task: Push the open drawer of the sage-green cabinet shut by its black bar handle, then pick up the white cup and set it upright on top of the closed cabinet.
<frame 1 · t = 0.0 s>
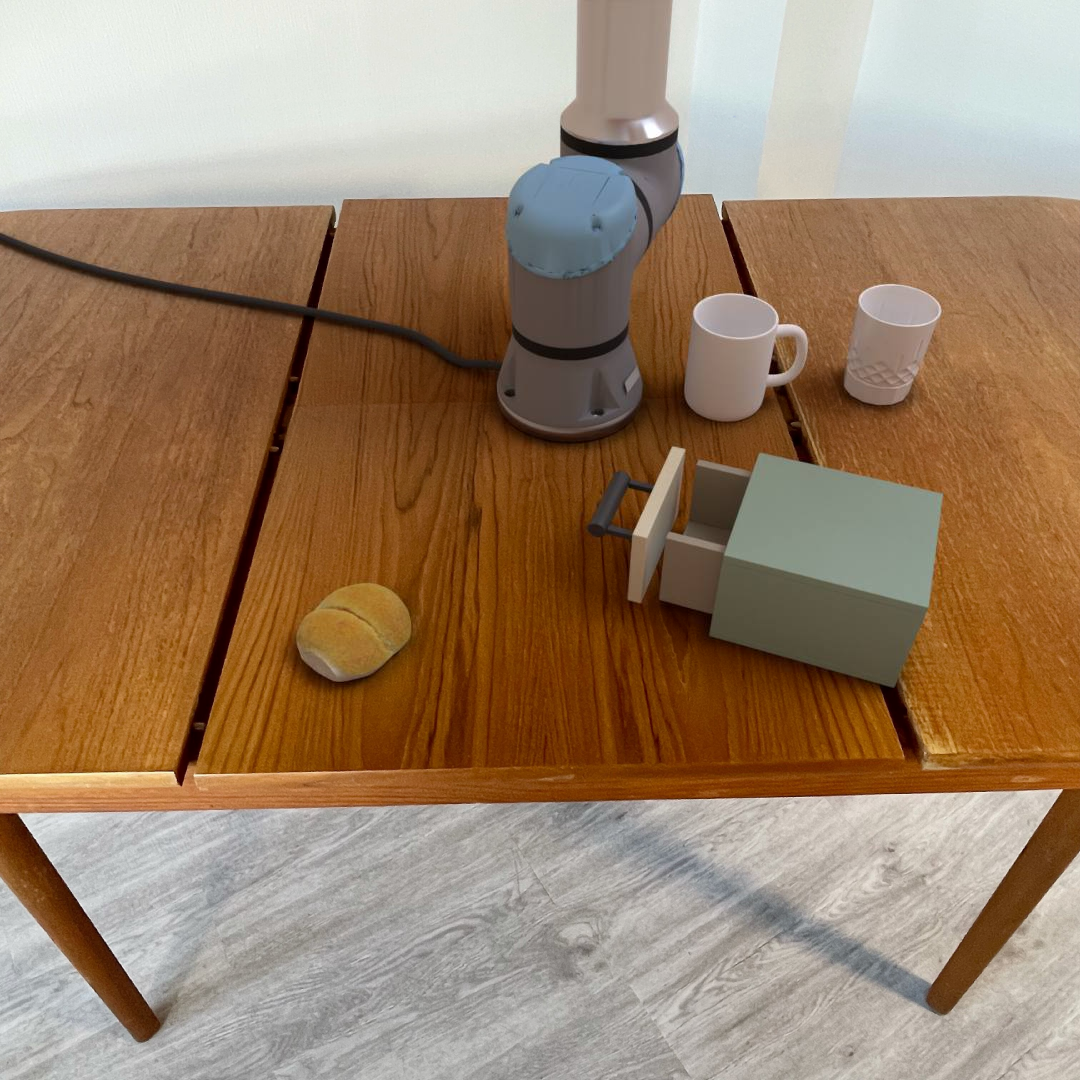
cup: (739, 400, 98), on the table
cabinet: (812, 605, 77), on the table
drawer: (702, 535, 77), point 5 cm above the table, slide at 6.0 cm
white cup: (874, 388, 99), on the table
bread roll: (356, 643, 76), on the table
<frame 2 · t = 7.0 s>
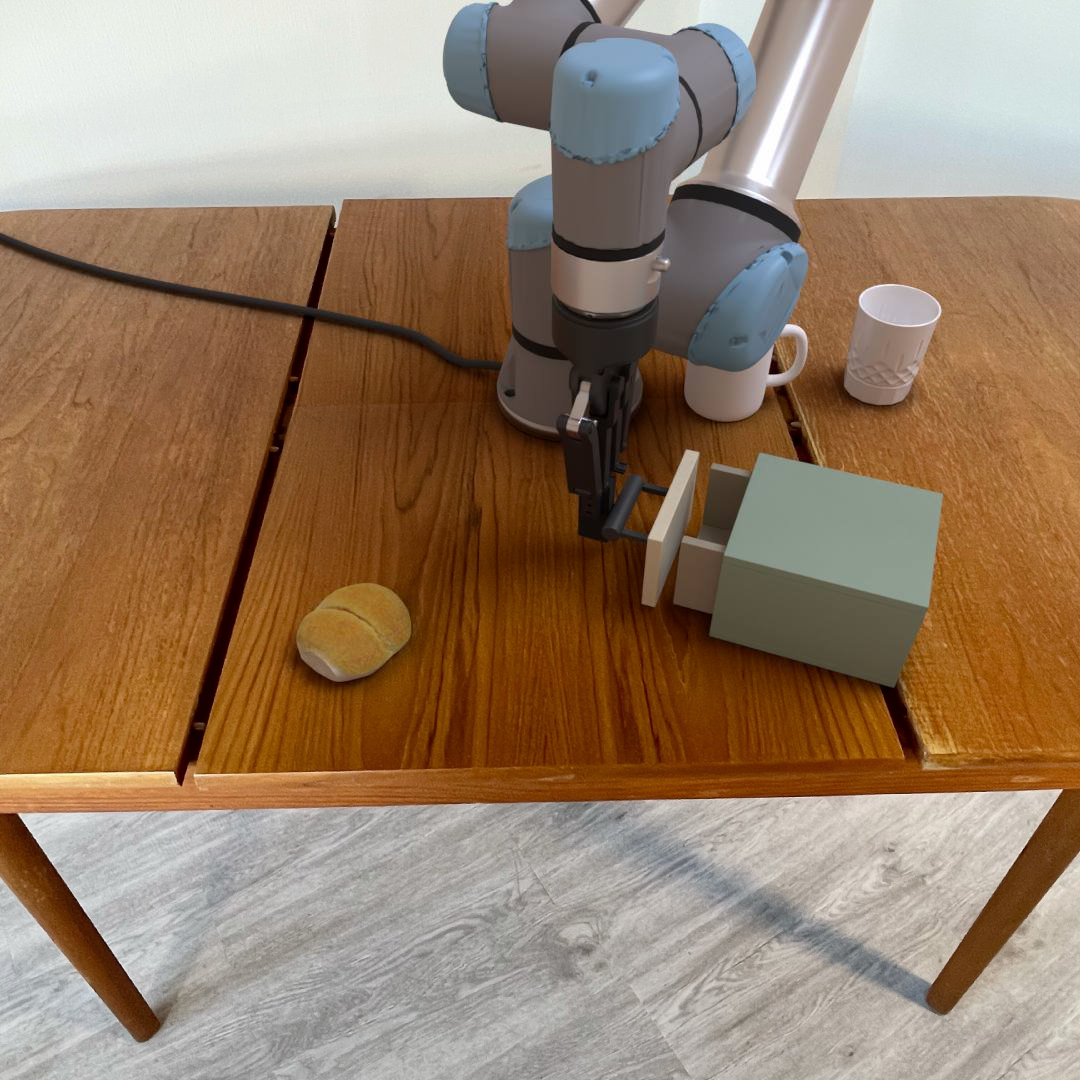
hand: (595, 533, 81), 2 cm above the table, tool pointing down, fingers closed
drawer: (717, 538, 76), point 5 cm above the table, slide at 4.8 cm, touching gripper
everything else where it was.
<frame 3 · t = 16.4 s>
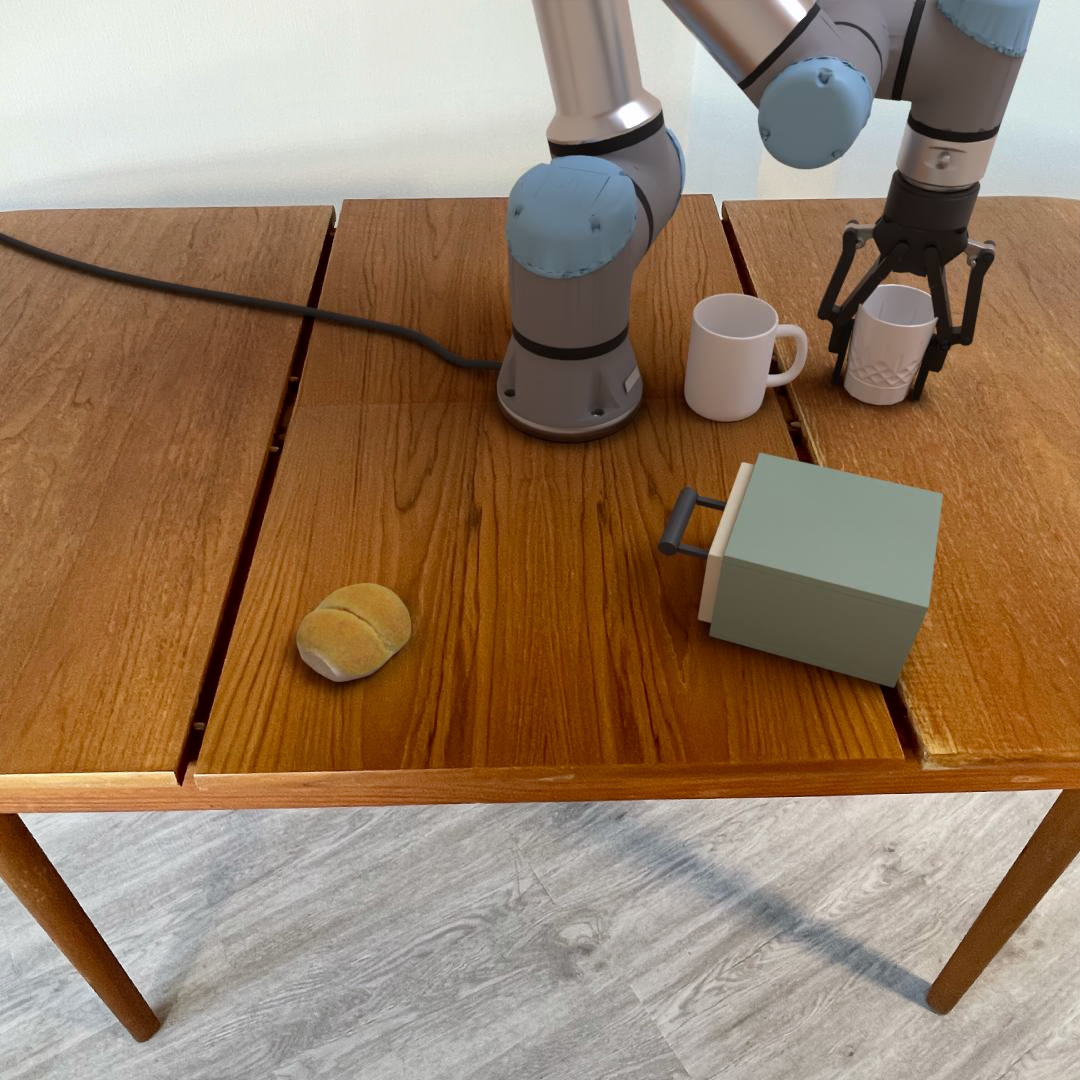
hand: (875, 385, 98), 0 cm above the table, tool pointing down, fingers closed on white cup, 8 cm apart
drawer: (774, 553, 75), point 5 cm above the table, slide at 0.0 cm, touching cabinet
white cup: (874, 388, 99), on the table, touching gripper
everything else where it was.
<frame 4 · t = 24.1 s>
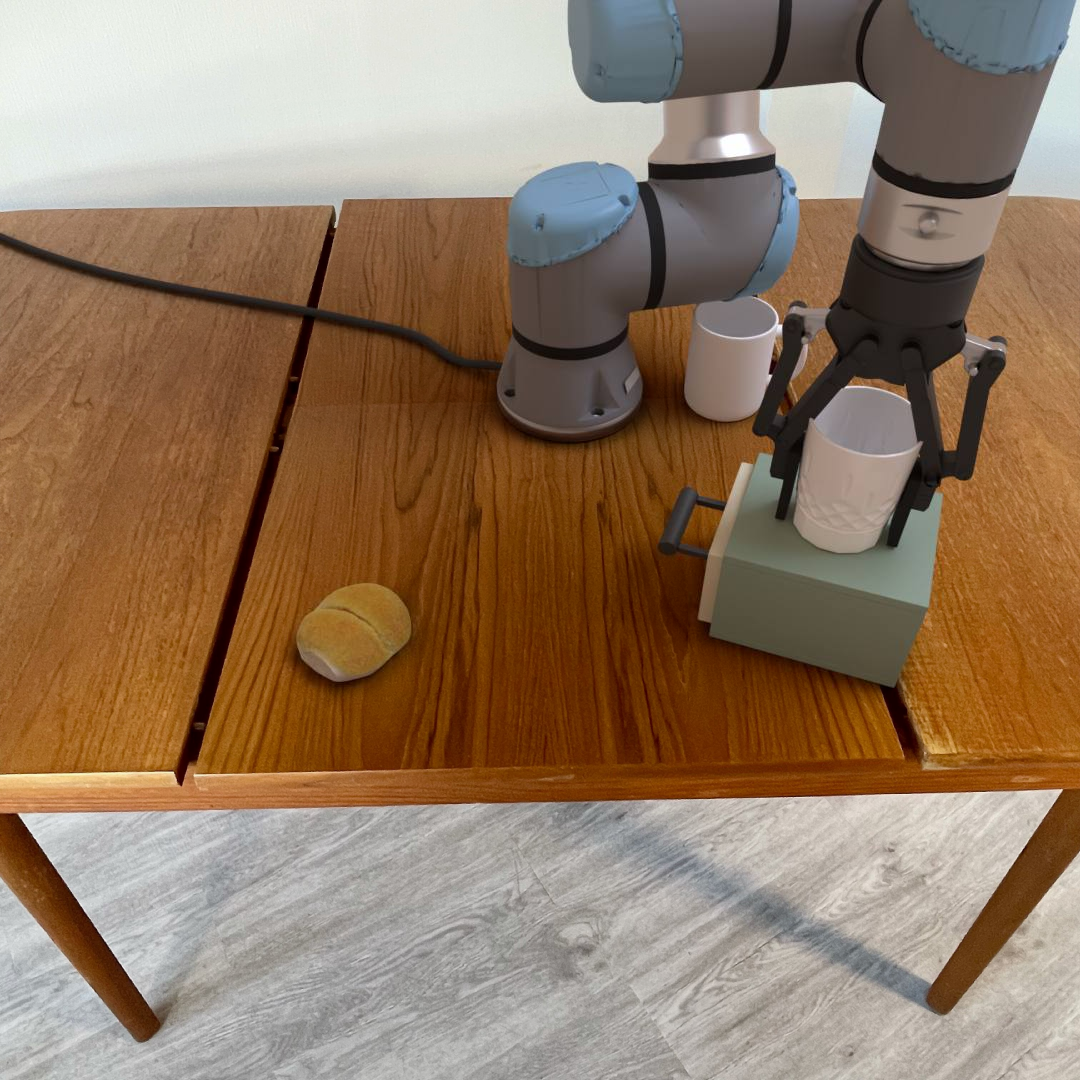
hand: (837, 520, 70), 10 cm above the table, tool pointing down, fingers closed on white cup, 8 cm apart
white cup: (836, 525, 71), point 9 cm above the table, touching gripper
everything else where it was.
when the fingers open (12 cm above the table, at t = 35.3 s): white cup drops 2 cm, resting on cabinet.
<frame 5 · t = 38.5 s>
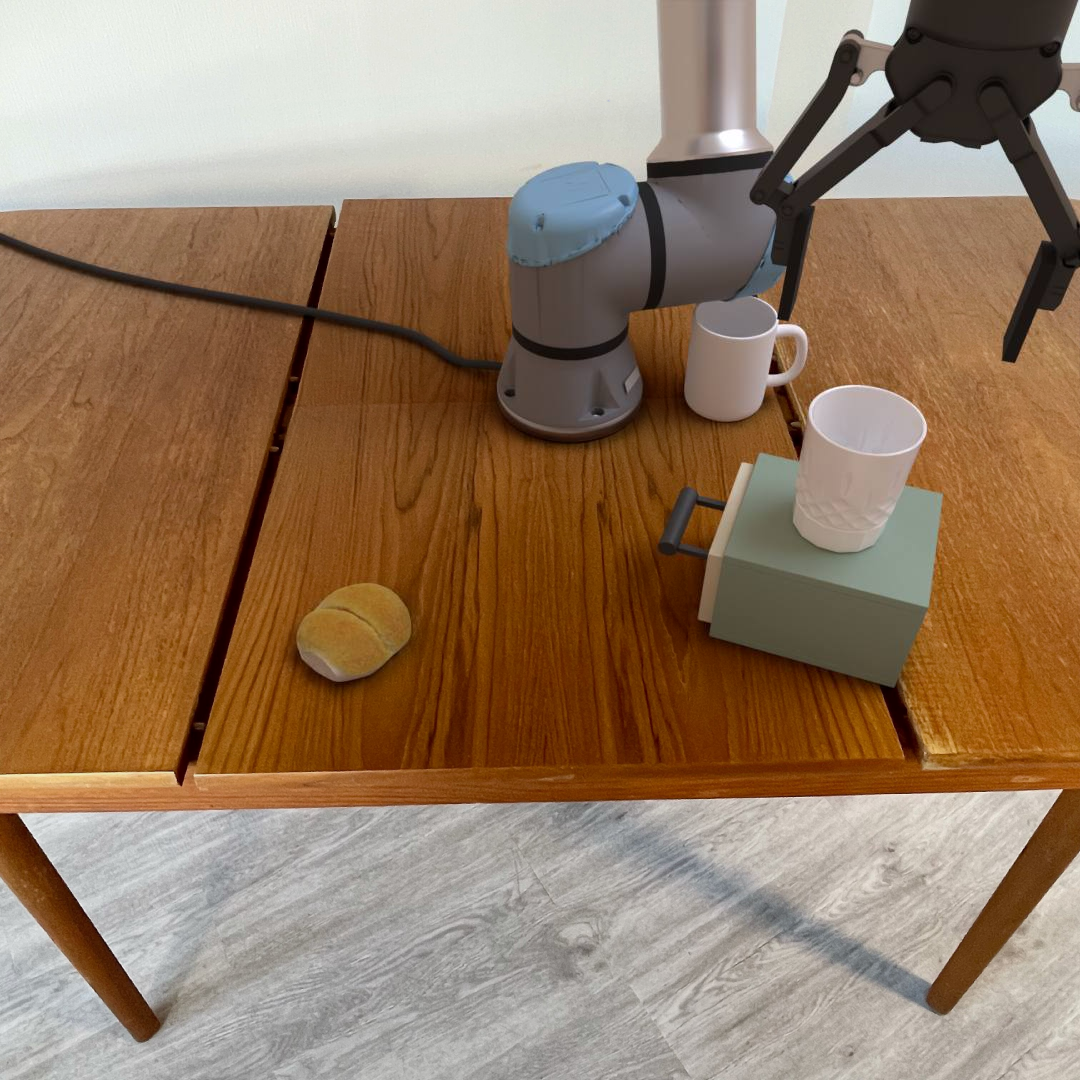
hand: (894, 330, 58), 27 cm above the table, tool pointing down, fingers open, 13 cm apart
white cup: (835, 524, 71), point 9 cm above the table, touching cabinet
everything else where it was.
at the end: drawer slide at 0.0 cm; white cup inside the target area on the cabinet (0.1 cm from its centre), point 9.4 cm above the cabinet's base; white cup tilted 0° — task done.
